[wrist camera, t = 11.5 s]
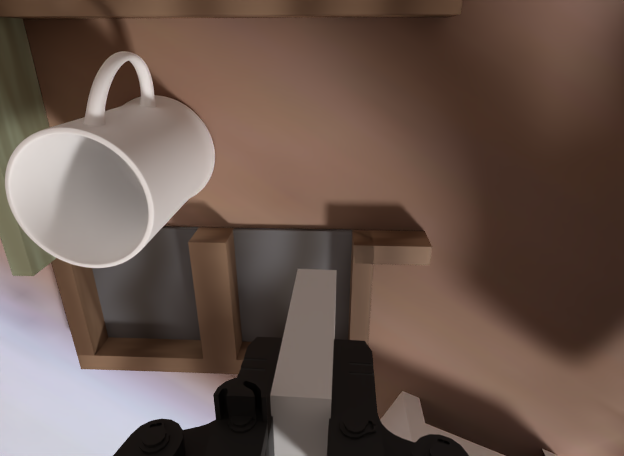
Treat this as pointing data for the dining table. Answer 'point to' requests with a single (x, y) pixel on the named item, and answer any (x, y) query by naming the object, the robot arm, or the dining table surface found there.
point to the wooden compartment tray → (192, 240)
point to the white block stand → (425, 425)
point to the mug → (109, 173)
